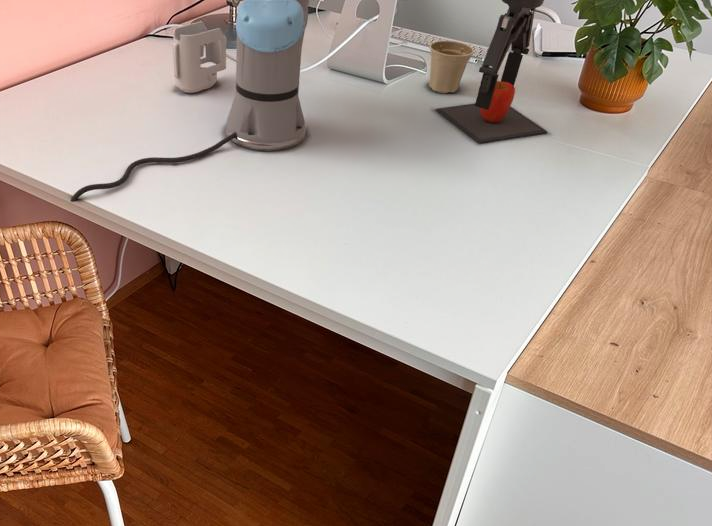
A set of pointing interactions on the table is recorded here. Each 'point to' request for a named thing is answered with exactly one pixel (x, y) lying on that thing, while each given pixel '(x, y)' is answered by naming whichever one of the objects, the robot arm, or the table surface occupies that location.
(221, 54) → the grey boxy plastic piece
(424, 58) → the table surface
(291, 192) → the table surface
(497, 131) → the place mat
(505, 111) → the red bell pepper
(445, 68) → the flower pot
